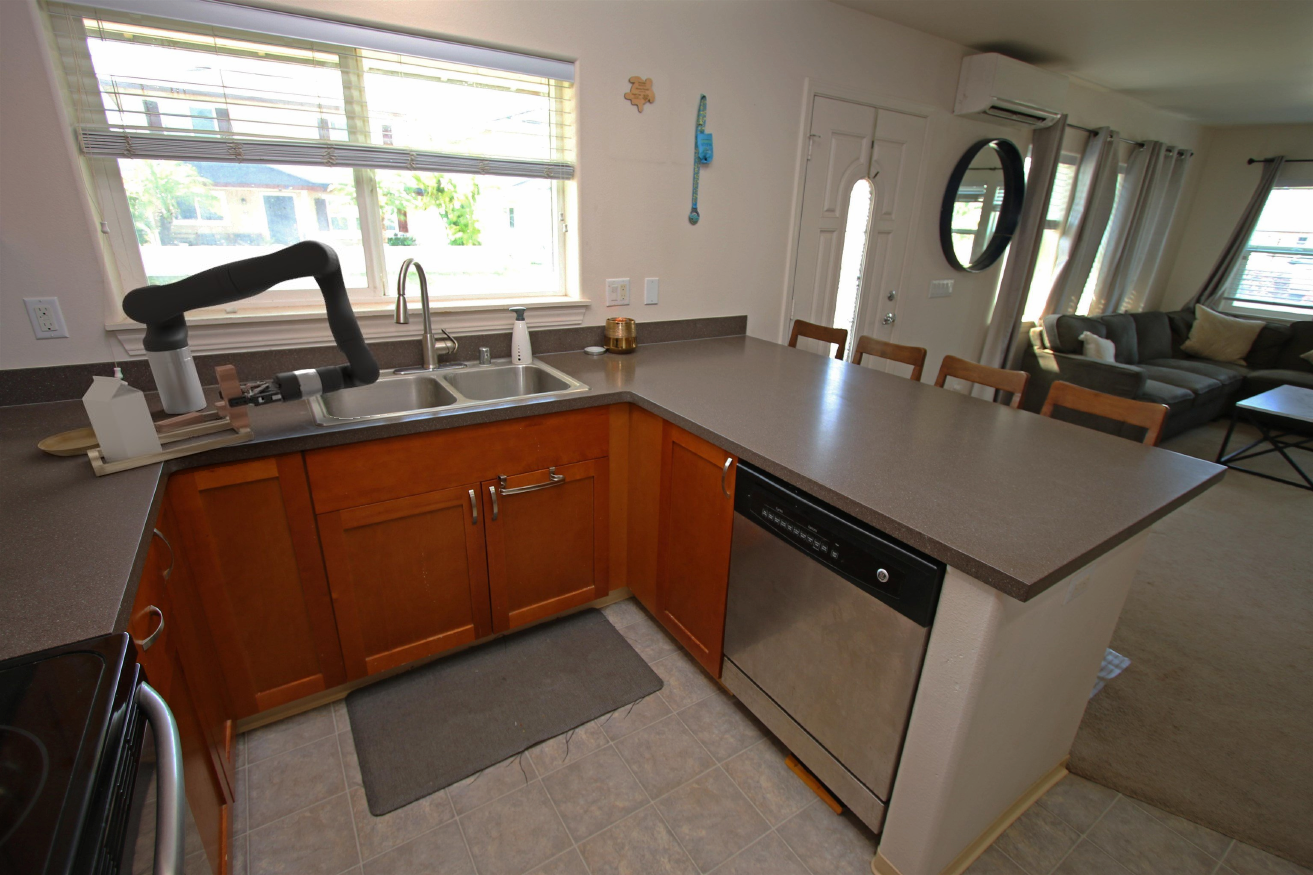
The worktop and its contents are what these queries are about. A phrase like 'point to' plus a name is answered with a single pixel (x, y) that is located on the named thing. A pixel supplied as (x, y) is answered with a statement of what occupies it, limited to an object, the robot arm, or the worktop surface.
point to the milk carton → (120, 419)
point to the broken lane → (192, 420)
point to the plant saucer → (71, 442)
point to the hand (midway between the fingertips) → (223, 399)
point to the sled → (191, 431)
